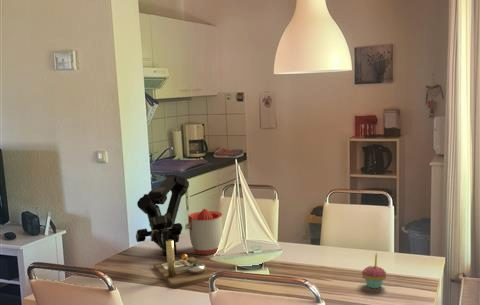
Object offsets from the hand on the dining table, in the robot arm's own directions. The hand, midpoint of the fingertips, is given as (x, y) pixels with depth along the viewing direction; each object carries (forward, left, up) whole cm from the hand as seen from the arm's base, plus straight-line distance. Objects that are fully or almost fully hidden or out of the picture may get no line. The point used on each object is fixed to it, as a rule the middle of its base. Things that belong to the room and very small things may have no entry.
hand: (164, 250), depth 196 cm
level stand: (+5, +5, -10) cm, 12 cm away
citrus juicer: (-8, +29, -10) cm, 32 cm away
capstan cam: (+4, +5, -8) cm, 11 cm away
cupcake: (+72, +39, -10) cm, 82 cm away
